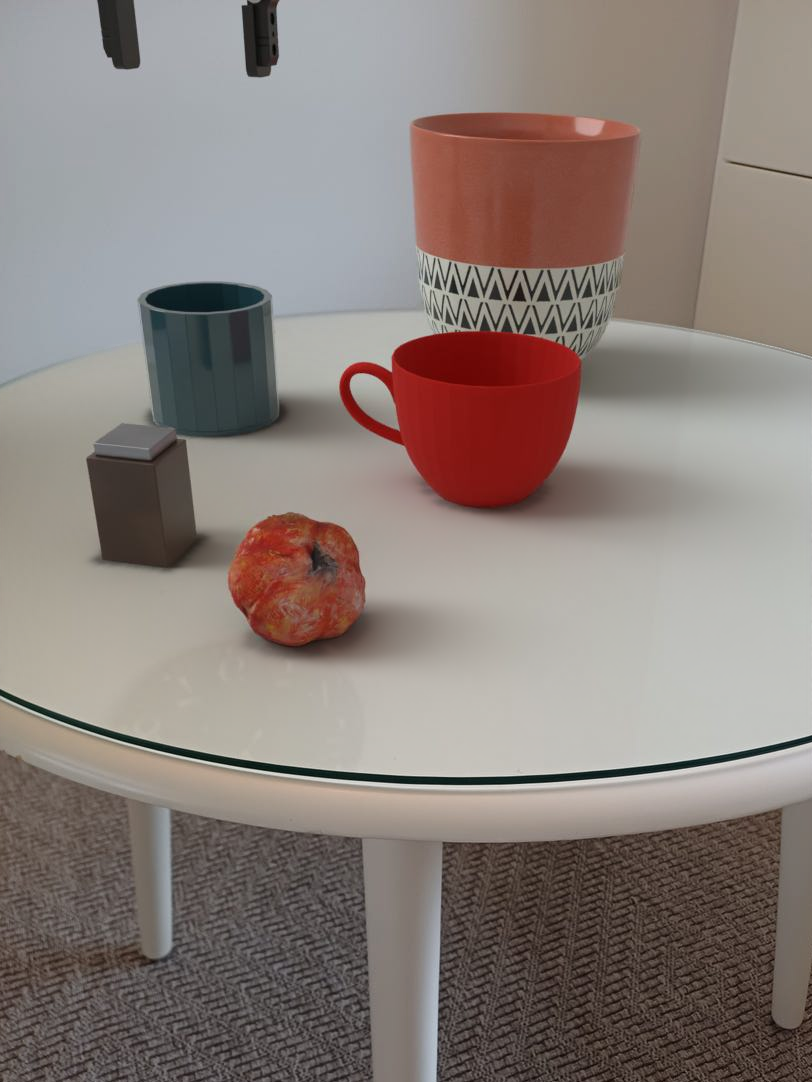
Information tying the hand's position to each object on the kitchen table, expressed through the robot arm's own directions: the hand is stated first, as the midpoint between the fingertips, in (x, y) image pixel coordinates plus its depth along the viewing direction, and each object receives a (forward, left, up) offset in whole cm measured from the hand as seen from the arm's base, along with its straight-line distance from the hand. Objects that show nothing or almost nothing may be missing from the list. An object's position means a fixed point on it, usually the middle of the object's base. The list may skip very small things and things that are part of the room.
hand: (192, 72), depth 67 cm
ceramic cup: (+16, -1, -27) cm, 32 cm away
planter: (+23, +26, -27) cm, 44 cm away
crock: (-3, +14, -27) cm, 30 cm away
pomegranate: (+6, -21, -27) cm, 35 cm away
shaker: (-4, -11, -27) cm, 29 cm away
